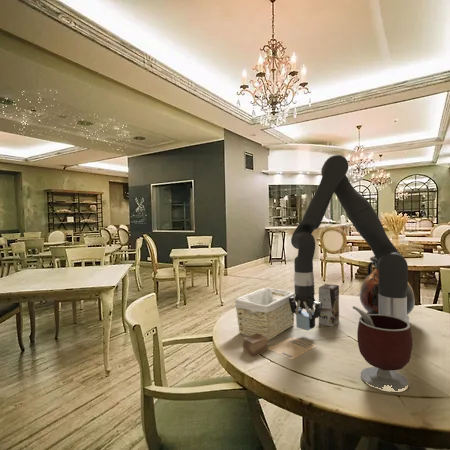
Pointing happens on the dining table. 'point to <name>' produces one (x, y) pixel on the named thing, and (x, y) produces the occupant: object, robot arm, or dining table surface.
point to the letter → (291, 347)
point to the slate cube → (303, 321)
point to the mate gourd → (384, 348)
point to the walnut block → (254, 344)
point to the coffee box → (329, 304)
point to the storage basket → (264, 312)
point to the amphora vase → (371, 291)
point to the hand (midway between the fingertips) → (305, 325)
